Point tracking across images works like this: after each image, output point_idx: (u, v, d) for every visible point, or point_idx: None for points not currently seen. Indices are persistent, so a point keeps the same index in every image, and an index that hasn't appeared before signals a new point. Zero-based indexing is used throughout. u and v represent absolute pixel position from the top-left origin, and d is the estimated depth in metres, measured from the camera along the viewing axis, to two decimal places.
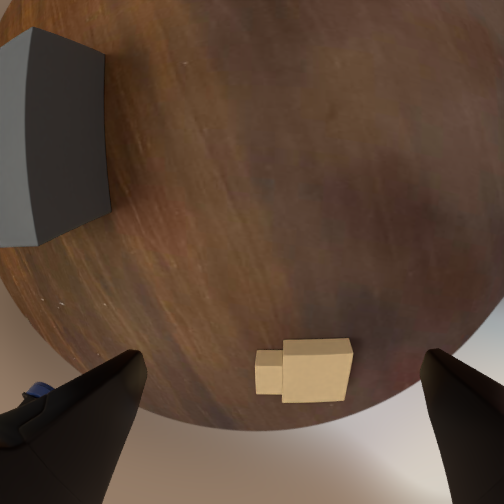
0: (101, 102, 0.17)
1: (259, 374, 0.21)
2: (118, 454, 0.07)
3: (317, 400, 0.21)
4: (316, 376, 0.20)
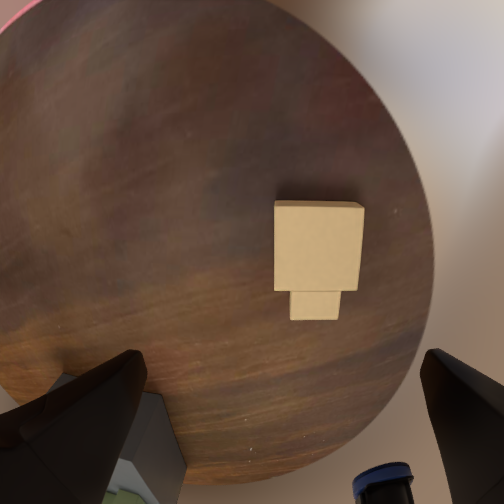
0: None
1: (304, 316, 0.18)
2: (118, 454, 0.07)
3: (358, 246, 0.16)
4: (310, 250, 0.17)
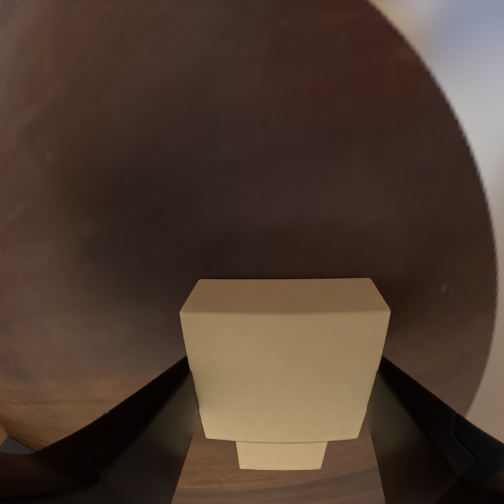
0: (31, 452, 0.16)
1: (263, 466, 0.09)
2: (181, 468, 0.06)
3: (368, 380, 0.07)
4: (266, 392, 0.07)
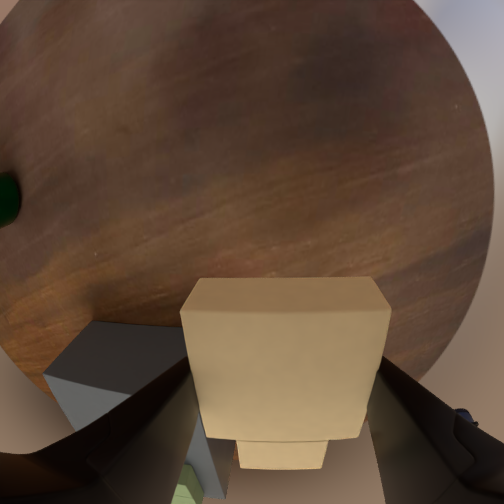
0: (126, 325, 0.23)
1: (263, 466, 0.09)
2: (180, 468, 0.06)
3: (369, 379, 0.07)
4: (267, 391, 0.07)
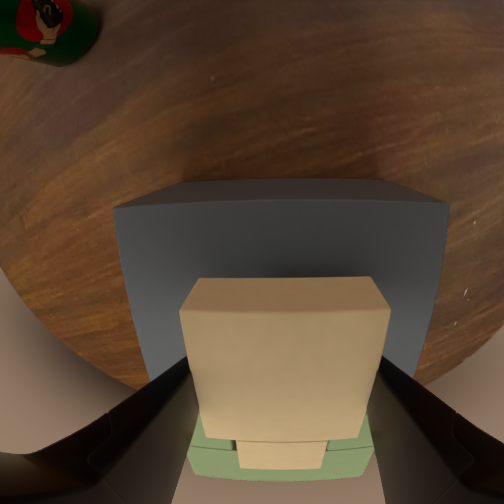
0: (245, 179, 0.17)
1: (263, 466, 0.09)
2: (181, 468, 0.06)
3: (368, 379, 0.07)
4: (266, 391, 0.07)
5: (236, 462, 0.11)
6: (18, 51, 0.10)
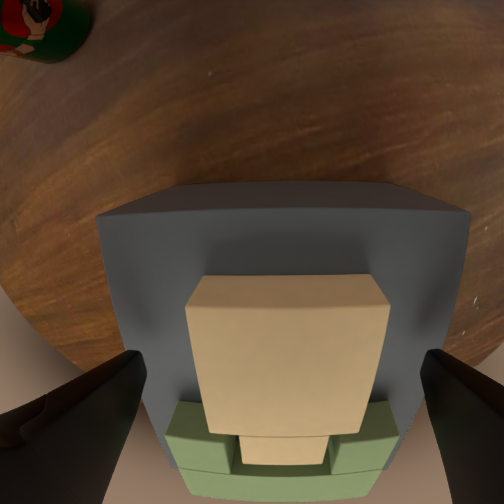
0: (244, 182, 0.16)
1: (265, 461, 0.09)
2: (118, 454, 0.07)
3: (369, 374, 0.07)
4: (269, 386, 0.08)
5: (235, 485, 0.10)
6: (5, 48, 0.08)
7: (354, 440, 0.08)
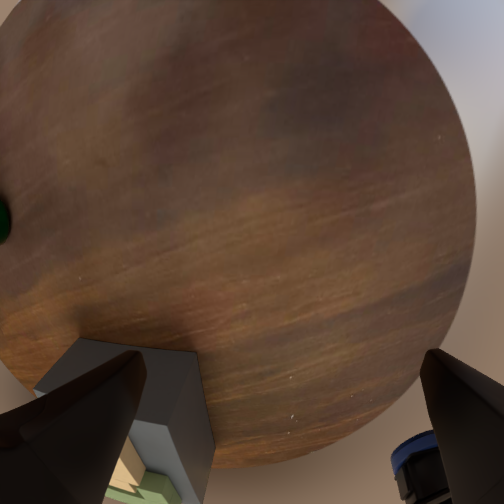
0: (110, 344, 0.24)
1: (112, 485, 0.17)
2: (118, 454, 0.06)
3: (124, 469, 0.15)
4: None
5: (110, 492, 0.18)
6: None
7: (141, 488, 0.17)
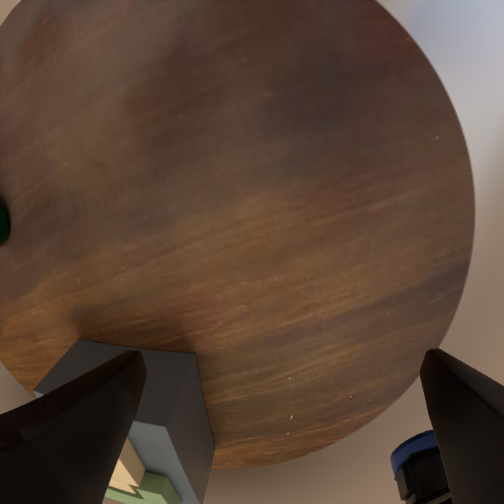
0: (109, 346, 0.24)
1: (112, 486, 0.17)
2: (118, 454, 0.06)
3: (124, 470, 0.15)
4: None
5: (110, 493, 0.18)
6: None
7: (141, 488, 0.17)
